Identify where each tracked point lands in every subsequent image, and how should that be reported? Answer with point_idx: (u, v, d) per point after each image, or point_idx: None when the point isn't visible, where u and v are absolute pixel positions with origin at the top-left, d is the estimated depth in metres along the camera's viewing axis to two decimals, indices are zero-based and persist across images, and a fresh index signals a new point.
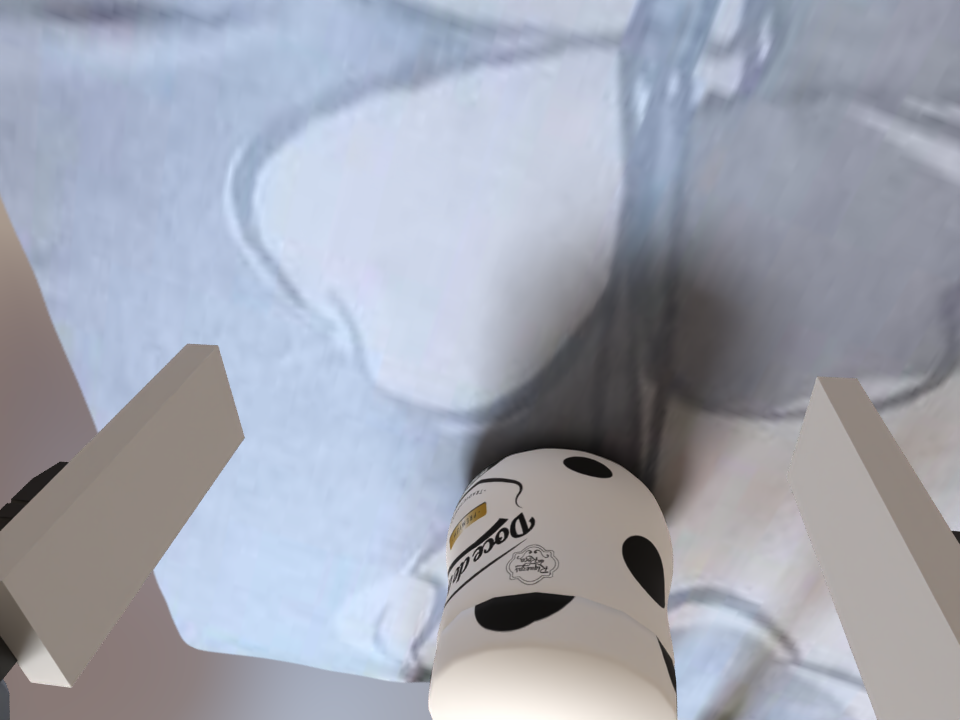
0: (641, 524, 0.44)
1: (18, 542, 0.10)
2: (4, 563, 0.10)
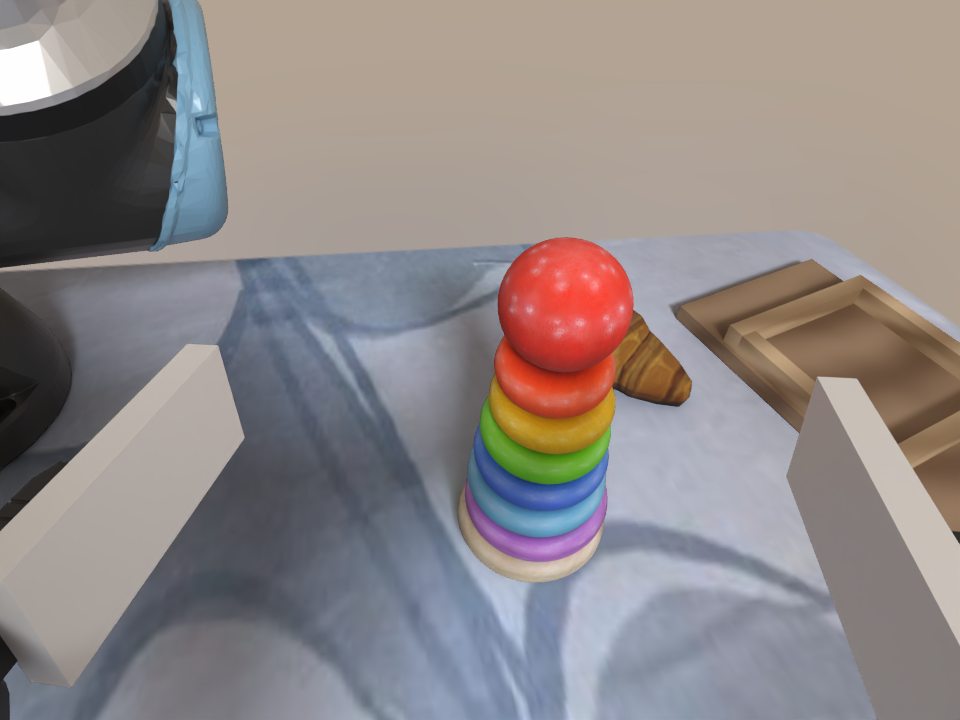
0: None
1: (18, 542, 0.10)
2: (4, 563, 0.10)
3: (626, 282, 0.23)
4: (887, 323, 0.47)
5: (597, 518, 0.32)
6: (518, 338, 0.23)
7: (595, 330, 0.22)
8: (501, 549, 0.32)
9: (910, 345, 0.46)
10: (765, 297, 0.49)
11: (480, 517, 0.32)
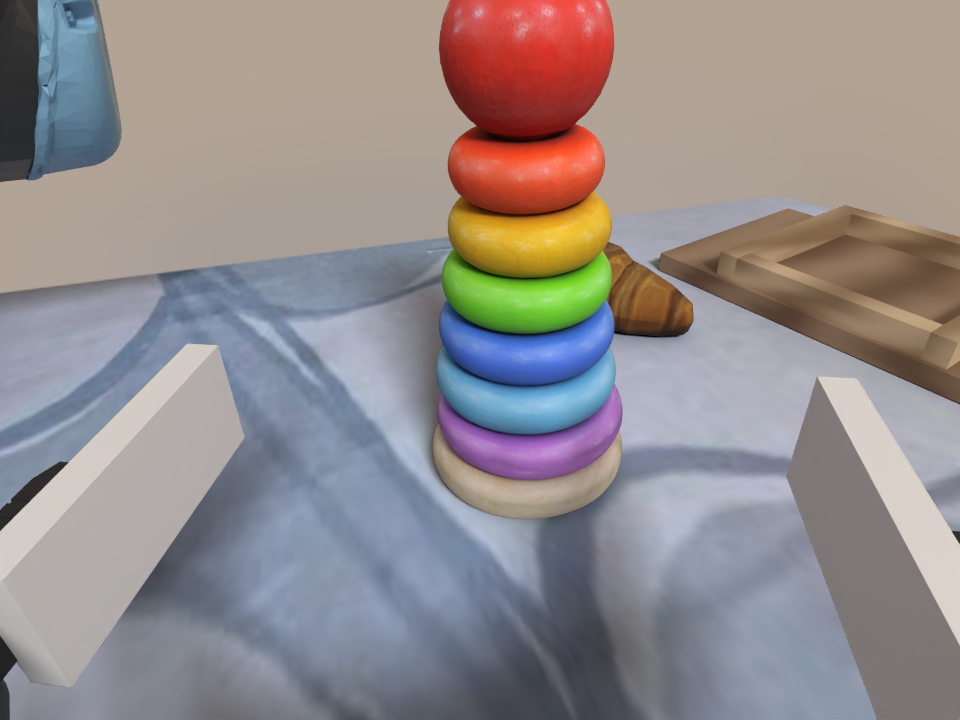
0: None
1: (18, 542, 0.10)
2: (4, 563, 0.10)
3: None
4: (888, 242, 0.43)
5: (612, 414, 0.25)
6: (469, 68, 0.17)
7: (570, 24, 0.17)
8: (493, 465, 0.24)
9: (920, 257, 0.41)
10: (750, 238, 0.45)
11: (460, 430, 0.24)
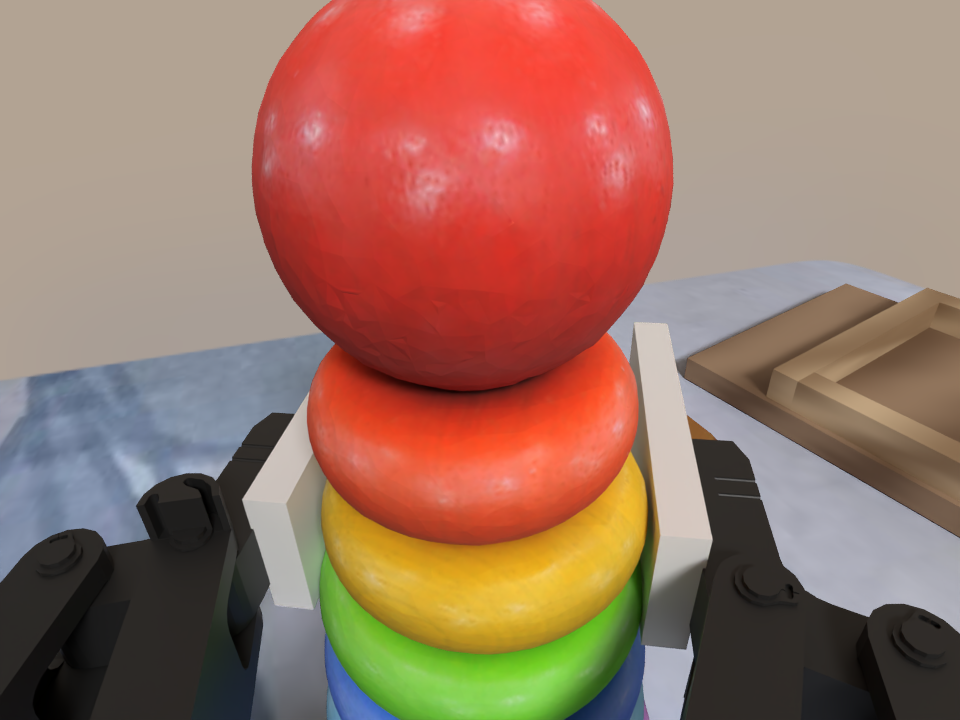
0: None
1: (285, 473, 0.11)
2: (281, 489, 0.11)
3: (641, 56, 0.07)
4: None
5: None
6: (303, 267, 0.07)
7: (565, 172, 0.06)
8: None
9: None
10: (804, 334, 0.34)
11: None
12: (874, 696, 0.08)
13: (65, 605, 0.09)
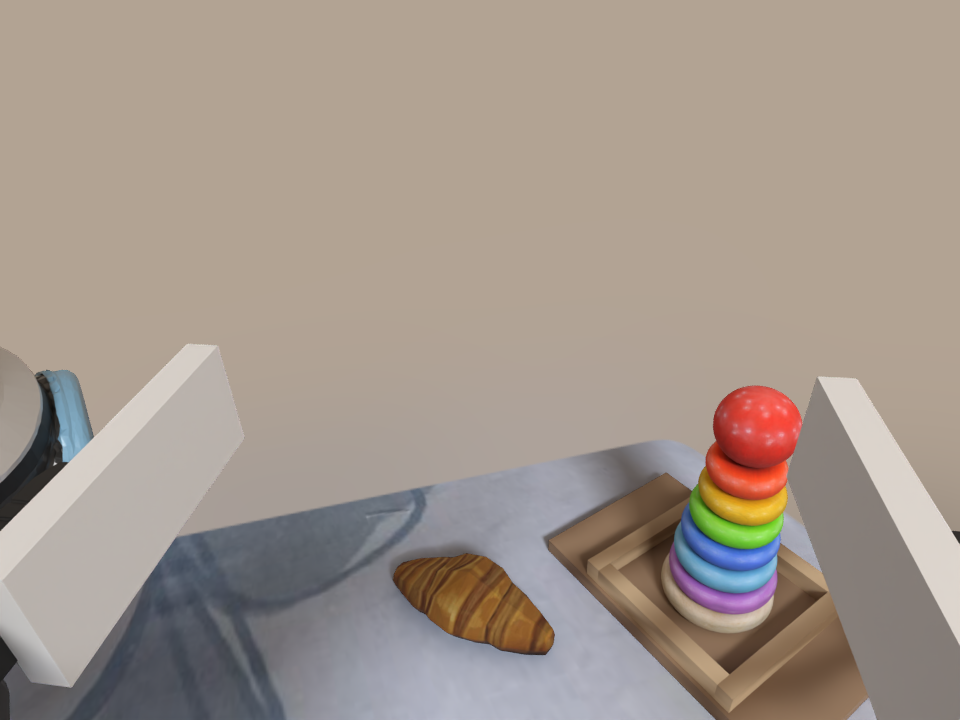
0: None
1: (18, 542, 0.10)
2: (4, 563, 0.10)
3: (796, 408, 0.39)
4: None
5: (774, 576, 0.45)
6: (739, 449, 0.38)
7: (790, 438, 0.37)
8: (714, 607, 0.44)
9: None
10: (625, 519, 0.55)
11: (694, 586, 0.45)
12: None
13: None
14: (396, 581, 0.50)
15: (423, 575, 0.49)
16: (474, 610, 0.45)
